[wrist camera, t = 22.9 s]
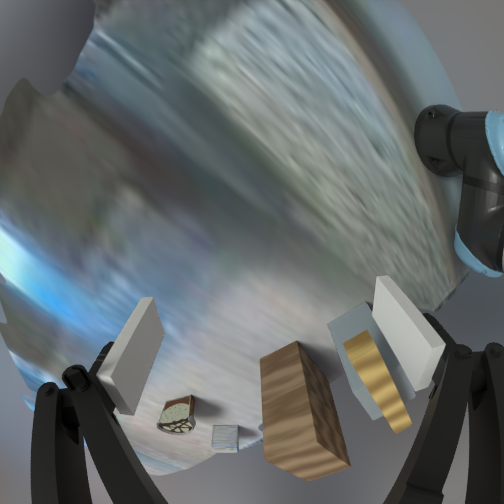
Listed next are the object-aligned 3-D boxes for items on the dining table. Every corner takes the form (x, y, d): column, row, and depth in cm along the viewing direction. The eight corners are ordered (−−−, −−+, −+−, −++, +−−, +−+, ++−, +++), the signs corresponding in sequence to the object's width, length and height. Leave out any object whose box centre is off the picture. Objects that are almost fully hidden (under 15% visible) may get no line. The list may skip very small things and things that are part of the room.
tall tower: (259, 358, 64) (264, 459, 38) (296, 340, 62) (317, 442, 36) (295, 395, 69) (308, 481, 44) (327, 380, 67) (351, 466, 42)
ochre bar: (342, 343, 37) (350, 362, 33) (367, 329, 36) (376, 346, 32) (390, 420, 46) (395, 434, 42) (406, 411, 45) (412, 424, 42)
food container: (175, 413, 73) (169, 438, 64) (162, 402, 71) (155, 428, 62) (207, 404, 71) (204, 432, 62) (194, 393, 69) (189, 421, 60)
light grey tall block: (327, 323, 60) (352, 391, 41) (365, 301, 58) (403, 362, 39) (349, 358, 65) (373, 420, 46) (383, 338, 63) (415, 396, 44)
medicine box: (215, 431, 77) (213, 452, 69) (212, 424, 75) (210, 446, 67) (239, 431, 77) (238, 452, 69) (237, 424, 75) (236, 446, 67)
